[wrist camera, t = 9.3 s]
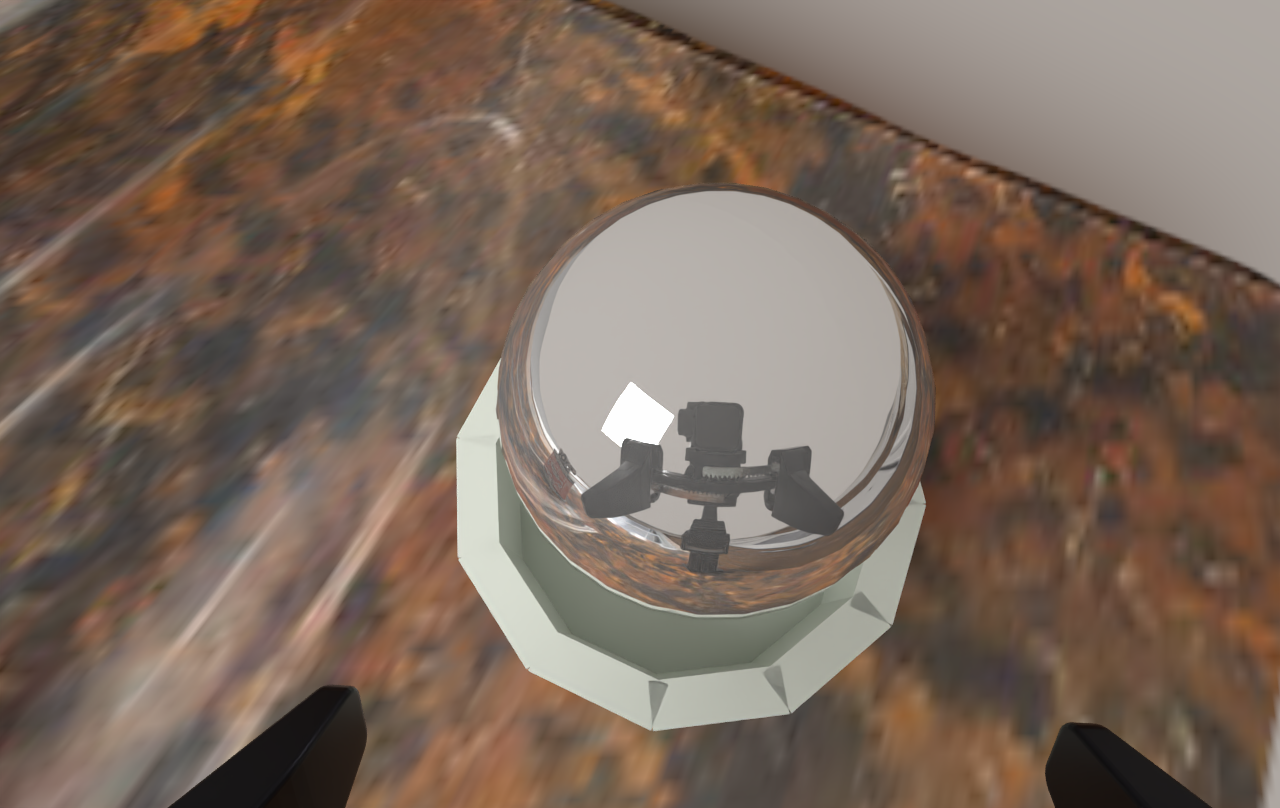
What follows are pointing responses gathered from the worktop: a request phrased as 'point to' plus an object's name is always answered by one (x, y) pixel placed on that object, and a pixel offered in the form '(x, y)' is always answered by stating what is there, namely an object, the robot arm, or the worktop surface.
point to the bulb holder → (651, 641)
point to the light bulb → (715, 401)
